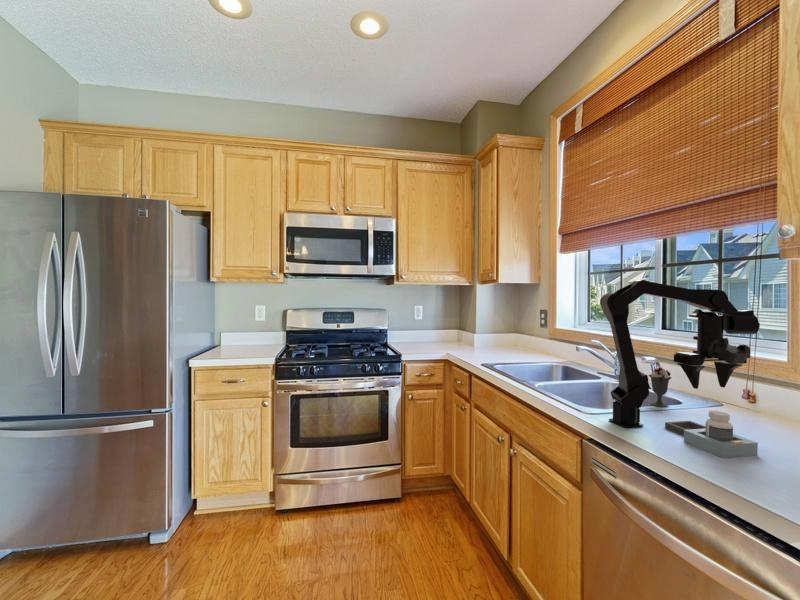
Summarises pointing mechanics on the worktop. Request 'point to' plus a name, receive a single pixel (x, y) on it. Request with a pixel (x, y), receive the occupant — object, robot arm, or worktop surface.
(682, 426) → the dark brown square tray
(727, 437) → the pill bottle
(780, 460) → the worktop surface
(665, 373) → the sundae
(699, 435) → the tray
